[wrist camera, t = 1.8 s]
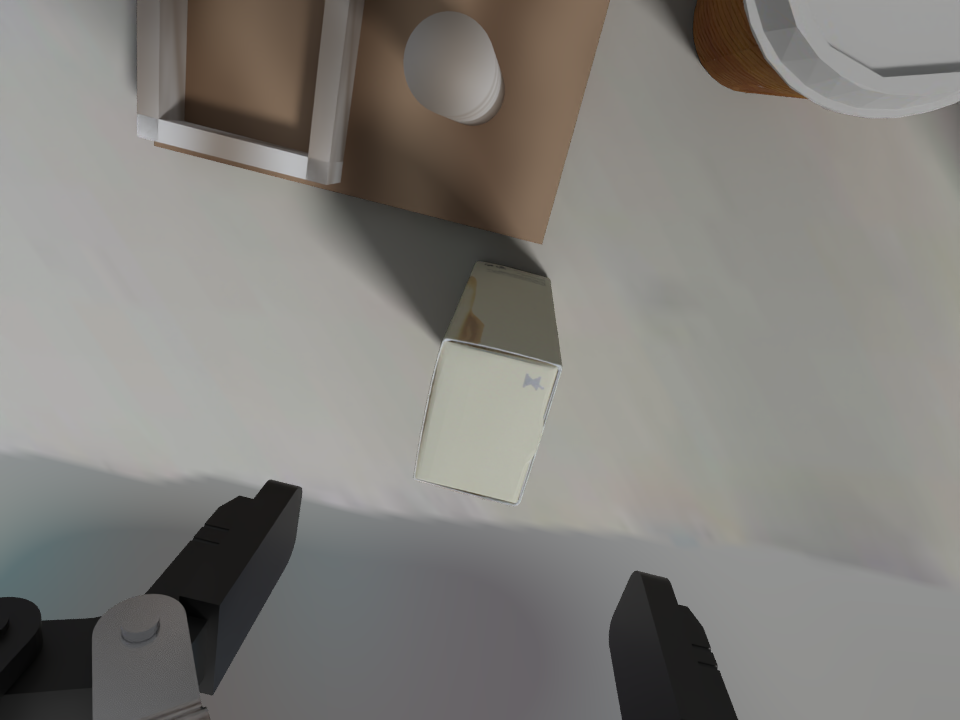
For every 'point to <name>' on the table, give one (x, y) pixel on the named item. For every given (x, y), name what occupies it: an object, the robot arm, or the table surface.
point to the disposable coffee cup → (836, 52)
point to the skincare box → (491, 386)
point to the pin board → (377, 97)
